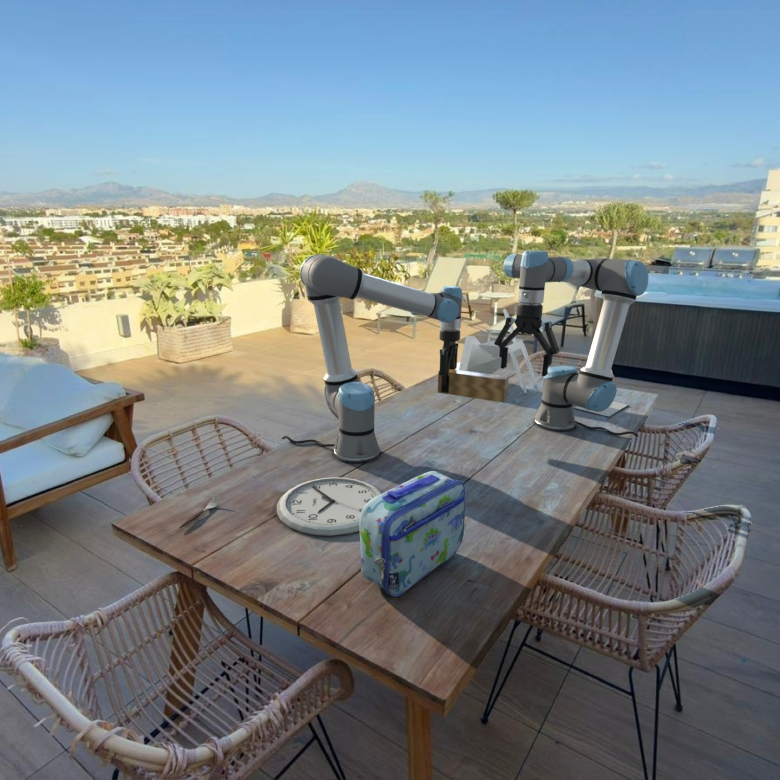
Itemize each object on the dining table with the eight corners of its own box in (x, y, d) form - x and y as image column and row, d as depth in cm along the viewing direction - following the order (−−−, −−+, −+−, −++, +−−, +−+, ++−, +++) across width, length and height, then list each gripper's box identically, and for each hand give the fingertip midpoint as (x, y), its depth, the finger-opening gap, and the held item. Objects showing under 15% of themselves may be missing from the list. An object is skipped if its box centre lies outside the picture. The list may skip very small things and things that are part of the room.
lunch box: (388, 609, 104) (390, 516, 98) (353, 583, 111) (352, 496, 105) (468, 555, 122) (474, 474, 115) (433, 536, 129) (437, 458, 123)
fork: (174, 529, 130) (174, 521, 130) (216, 499, 144) (215, 492, 144) (183, 531, 129) (182, 524, 129) (223, 501, 144) (223, 494, 143)
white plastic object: (472, 423, 260) (450, 400, 235) (454, 348, 282) (432, 320, 258) (544, 398, 248) (529, 371, 223) (519, 323, 270) (503, 291, 245)
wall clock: (392, 527, 129) (268, 531, 127) (391, 533, 130) (269, 537, 127) (383, 473, 158) (282, 475, 155) (383, 478, 158) (282, 480, 156)
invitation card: (608, 416, 214) (573, 407, 224) (608, 416, 214) (573, 408, 224) (628, 404, 229) (594, 396, 238) (628, 405, 229) (594, 397, 238)
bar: (507, 399, 190) (508, 376, 188) (503, 402, 186) (505, 379, 184) (442, 389, 201) (442, 368, 198) (437, 392, 197) (438, 370, 195)
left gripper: (448, 324, 200) (446, 383, 207) (431, 332, 185) (429, 395, 192) (467, 326, 196) (464, 385, 204) (451, 334, 181) (448, 398, 188)
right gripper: (487, 300, 162) (482, 367, 168) (567, 309, 148) (558, 381, 154) (497, 298, 168) (492, 362, 174) (575, 306, 153) (567, 375, 160)
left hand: (447, 390), depth 198 cm, fingers closed on bar, 5 cm apart
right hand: (523, 371), depth 164 cm, fingers open, 13 cm apart
